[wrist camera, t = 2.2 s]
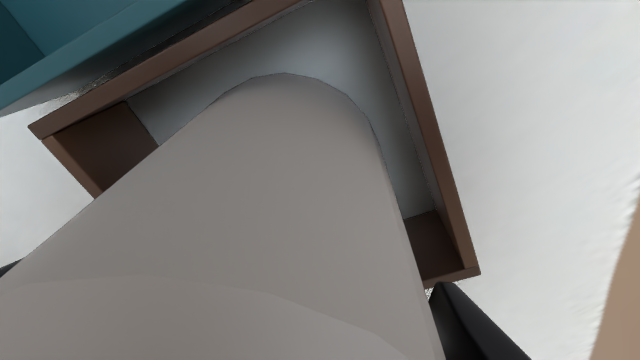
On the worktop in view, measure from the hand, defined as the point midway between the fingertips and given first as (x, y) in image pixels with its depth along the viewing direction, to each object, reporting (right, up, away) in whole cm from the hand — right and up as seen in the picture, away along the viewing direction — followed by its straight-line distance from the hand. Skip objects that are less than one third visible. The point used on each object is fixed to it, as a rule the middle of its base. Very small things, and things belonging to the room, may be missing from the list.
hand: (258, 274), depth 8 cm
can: (0, +3, +6) cm, 7 cm away
